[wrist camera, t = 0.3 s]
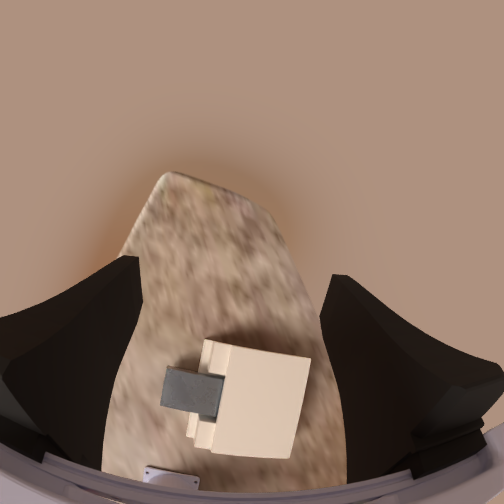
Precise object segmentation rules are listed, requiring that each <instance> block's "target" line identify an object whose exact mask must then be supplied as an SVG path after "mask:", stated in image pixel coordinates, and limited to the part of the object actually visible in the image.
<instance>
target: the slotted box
mask: <svg viewBox="0 0 504 504" xmlns="http://www.w3.org/2000/svg"><path fill="white" fill-rule="evenodd" d="M310 363H311V358H305V357H300V356H295V355H289V354H282V353H276V352H270V351H264V350H258V349H252V348H247V347H241V346H236V345H231V344H226V343H221V342H217V341H212V340H207V339H204V343H203V348H202V353H201V358H200V363H199V368H198V372H199V373H204V374H209V375H214V376H220V377H225V380H224V385H223V390H222V395H221V400H220V405H219V410H218V415H217V417H215V416H209V415H203V414H198V413H192V412H190V415H189V420H188V426H187V431H186V437H191V438H194V446H195V447H198V448H204V449H211V453H219V454H227V455H236V456H247V457H261V458H285V459H289V457H290V453H291V450H292V446H293V442H294V437H295V433H296V429H297V425H298V421H299V416H300V412H301V407H302V403H303V398H304V393H305V388H306V383H307V378H308V373H309V368H310Z"/></svg>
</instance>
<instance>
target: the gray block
mask: <svg viewBox="0 0 504 504" xmlns="http://www.w3.org/2000/svg"><path fill="white" fill-rule="evenodd" d="M224 380H225V377H220V376H214V375H209V374H204V373H199V372H195V371H190V370H186V369H181V368H177V367H173V366H169V365H168V366H167V369H166V375H165V380H164V385H163V391H162V396H161V402H160V406H165V407H169V408H173V409H178V410H182V411H187V412H192V413H198V414H203V415H209V416H215V417H217V415H218V410H219V405H220V400H221V395H222V390H223V385H224Z"/></svg>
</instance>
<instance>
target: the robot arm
mask: <svg viewBox="0 0 504 504" xmlns="http://www.w3.org/2000/svg"><path fill="white" fill-rule="evenodd" d="M142 304H143V297H142V288H141V277H140V266H139V257H135V256H126V255H124V256H121V257H120V258H118V259H116V260H114V261H113V262H111V263H110V264H108V265H106V266H105V267H103V268H102V269H100V270H99V271H97V272H96V273H94V274H92V275H91V276H89V277H88V278H86V279H84V280H83V281H81V282H79V283H78V284H76V285H74V286H73V287H71V288H69V289H68V290H66V291H64V292H62V293H60V294H59V295H57V296H54V297H52V298H50V299H48V300H46V301H44V302H42V303H40V304H38V305H35V306H32V307H30V308H27V309H25V310H22V311H20V312H17V313H14V314H11V315H8V316H4V317H1V318H0V504H119V503H116V502H113V501H110V500H108V499H111V500H114V501H118V502H122V503H126V504H486V503H488V502H489V501H490V500H492V499H493V498H494V497H496V496H497V495H498V494H499V493H501V492H502V491H503V490H504V422H503V423H502V424H500V425H498V426H496V427H494V428H492V429H490V430H489V431H487V432H486V433H484V434H482V432H481V430H480V428H482V427H483V426H484V422H483V420H482V418H481V417H482V416H483V415H484V414H485V413H486V412H487V411H488V410H489V409H490V408H491V407H492V406H493V404H494V403H495V402H496V401H497V400H498V398H499V397H500V396H501V395H502V394H503V392H504V372H503V370H502V368H501V367H500V366H499V365H498V364H497V363H494V362H491V361H487V360H484V359H481V358H478V357H474V356H472V355H469V354H467V353H464V352H462V351H459V350H457V349H455V348H453V347H451V346H448V345H446V344H444V343H442V342H441V341H438V340H437V339H435V338H433V337H431V336H429V335H428V334H426V333H424V332H423V331H421V330H420V329H418V328H416V327H415V326H413V325H412V324H410V323H409V322H407V321H406V320H404V319H403V318H402V317H400V316H399V315H397V314H396V313H395V312H394V311H392V310H391V309H389V308H388V307H387V306H386V305H385V304H383V303H382V302H381V301H380V300H378V299H377V298H376V297H375V296H374V295H372V294H371V293H370V292H369V291H367V290H366V289H365V288H364V287H362V286H361V285H360V284H359V283H357V282H356V281H355V280H353V279H352V278H351V277H349V276H347V275H336V274H333V275H332V278H331V281H330V285H329V288H328V291H327V294H326V297H325V300H324V304H323V307H322V310H321V313H320V316H319V317H320V323H321V330H322V335H323V340H324V343H325V346H326V350H327V353H328V356H329V359H330V362H331V366H332V369H333V372H334V375H335V379H336V382H337V385H338V389H339V394H340V399H341V405H342V412H343V419H344V428H345V438H346V453H347V484H345V485H339V486H333V487H326V488H319V489H311V490H301V491H288V492H269V493H233V492H214V491H201V490H198V487H199V482H200V478H199V477H198V476H193V475H187V474H181V473H175V472H170V471H165V470H161V469H156V468H152V467H145V469H144V476H143V482H141V481H136V480H132V479H128V478H123V477H119V476H116V475H112V474H108V473H105V472H101V465H102V451H103V441H104V433H105V426H106V419H107V414H108V408H109V403H110V398H111V394H112V390H113V386H114V382H115V378H116V375H117V372H118V369H119V366H120V364H121V361H122V359H123V356H124V354H125V351H126V349H127V346H128V344H129V342H130V339H131V337H132V334H133V332H134V330H135V327H136V325H137V322H138V318H139V315H140V311H141V307H142ZM146 471H148V472H149V473H146ZM194 481H197V482H194ZM100 496H101V497H100ZM102 497H104V498H102ZM105 498H107V499H105Z"/></svg>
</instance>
